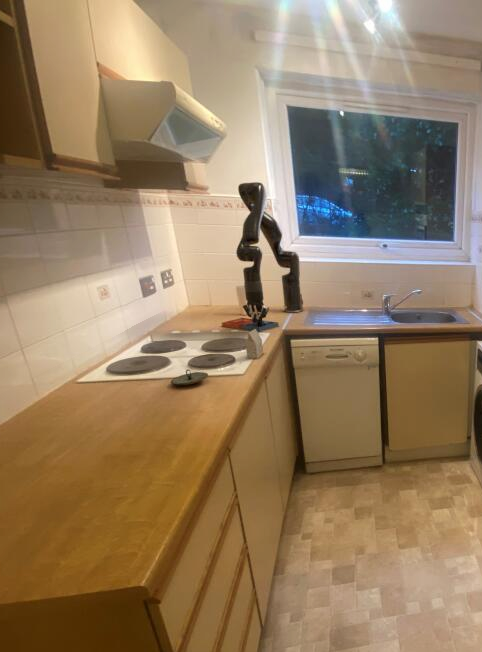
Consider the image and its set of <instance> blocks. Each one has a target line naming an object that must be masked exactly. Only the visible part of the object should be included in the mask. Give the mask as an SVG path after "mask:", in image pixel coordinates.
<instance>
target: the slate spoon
mask: <svg viewBox="0 0 482 652" xmlns="http://www.w3.org/2000/svg"><path fill="white" fill-rule="evenodd" d="M271 322H272V321H271ZM271 322H270V320H264V321H262V323H263V325H262V326H264V325H269V324H271ZM251 326H252V327H258V323H257V322H255V323H251Z"/></svg>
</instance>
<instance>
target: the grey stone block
mask: <svg viewBox="0 0 482 652" xmlns="http://www.w3.org/2000/svg"><path fill="white" fill-rule="evenodd" d="M244 344H245V351H246V358H247V359H259V358H260V357H261V356H262V355H263V354H264V348H263V339H262V337H261V336H260V334H259V333H258V331H256V329H254V330H252V331H251V330H250V331H249V332H248V335H247V338H246V341H245V343H244Z"/></svg>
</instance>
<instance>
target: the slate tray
mask: <svg viewBox="0 0 482 652" xmlns="http://www.w3.org/2000/svg"><path fill="white" fill-rule="evenodd" d="M262 321H265V320H263V319H262ZM269 321H270V320H269ZM270 322H271V324H269V325H264V326H262V327H252V326H251V323H250V324H246V325H242V328H241V329H242V330H243V331H250V332H251V331H252V330H254V329H256V331H257V332H259V333H260V332H264V331H267V330H271V329H273V328H277V327H279V322H278V321H270Z"/></svg>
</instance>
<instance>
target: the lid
mask: <svg viewBox="0 0 482 652" xmlns="http://www.w3.org/2000/svg"><path fill="white" fill-rule="evenodd" d="M188 372H189V373H188ZM208 376H209V374H208V373H207V372H203V371H195V372H194V371H193V372H191V370H190V369H186V370H185V374H181V375H179V376H176V377H174V378H172V379H171V381H170V384H172V385H174V386H189V385H193V384H197V383H200V382H202V381H203V380H205V379H207V378H208Z"/></svg>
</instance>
